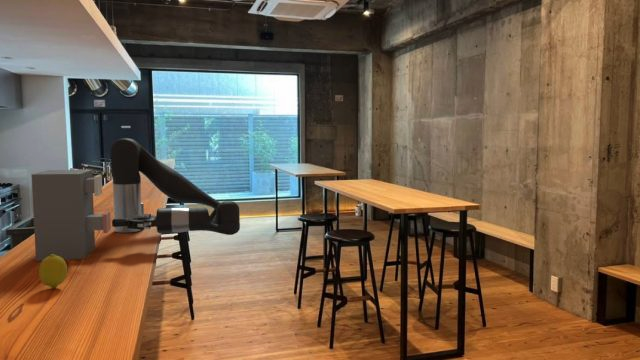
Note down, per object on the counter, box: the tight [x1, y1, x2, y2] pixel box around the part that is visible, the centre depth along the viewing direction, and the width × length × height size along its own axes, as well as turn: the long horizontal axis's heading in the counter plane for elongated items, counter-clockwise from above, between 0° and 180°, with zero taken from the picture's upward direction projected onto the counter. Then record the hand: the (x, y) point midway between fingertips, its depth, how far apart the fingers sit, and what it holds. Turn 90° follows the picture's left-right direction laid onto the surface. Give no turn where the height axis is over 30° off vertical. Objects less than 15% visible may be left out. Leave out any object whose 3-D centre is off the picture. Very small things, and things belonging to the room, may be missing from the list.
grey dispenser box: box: [31, 169, 96, 262], centre depth 134 cm, size 12×14×24 cm
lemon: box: [38, 254, 68, 289], centre depth 105 cm, size 6×6×8 cm
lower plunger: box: [86, 210, 112, 234], centre depth 136 cm, size 9×6×6 cm, turn 104°
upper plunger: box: [85, 174, 103, 197], centre depth 134 cm, size 9×6×6 cm, turn 104°
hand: (112, 222), depth 137 cm, fingers closed
